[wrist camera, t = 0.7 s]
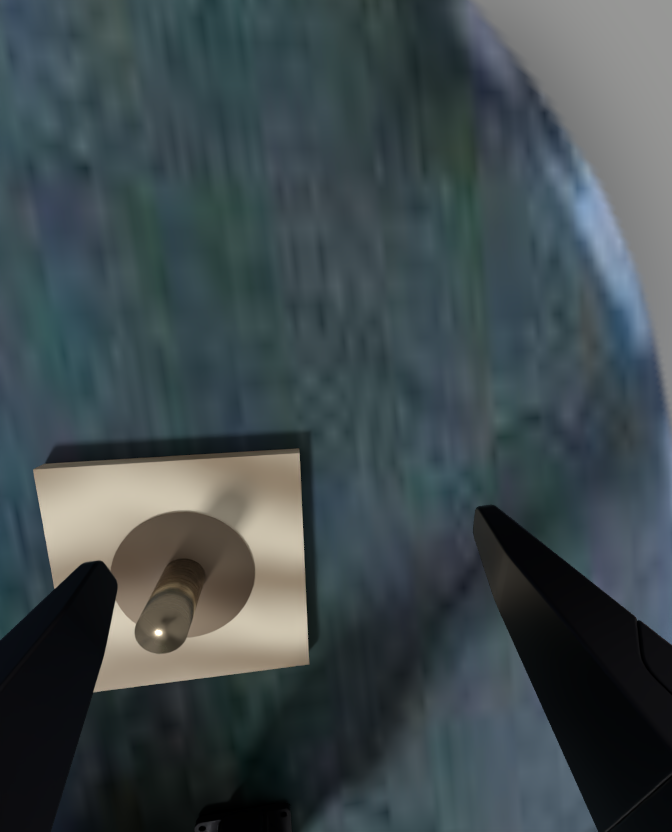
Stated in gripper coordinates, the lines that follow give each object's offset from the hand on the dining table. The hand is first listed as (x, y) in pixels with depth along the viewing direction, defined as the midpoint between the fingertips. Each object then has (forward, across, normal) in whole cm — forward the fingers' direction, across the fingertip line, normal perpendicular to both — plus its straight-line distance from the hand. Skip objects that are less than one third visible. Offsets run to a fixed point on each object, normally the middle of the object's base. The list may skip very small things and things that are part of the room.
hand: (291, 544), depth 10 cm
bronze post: (+8, +9, +12) cm, 17 cm away
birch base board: (+9, +9, +12) cm, 18 cm away
